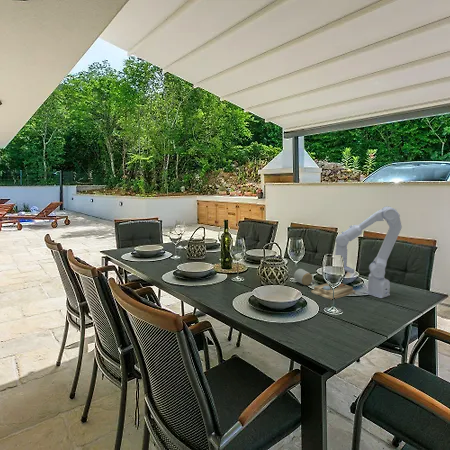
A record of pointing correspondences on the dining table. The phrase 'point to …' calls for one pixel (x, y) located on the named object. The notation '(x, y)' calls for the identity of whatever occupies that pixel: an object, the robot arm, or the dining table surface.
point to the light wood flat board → (329, 294)
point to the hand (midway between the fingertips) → (339, 283)
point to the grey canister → (303, 277)
